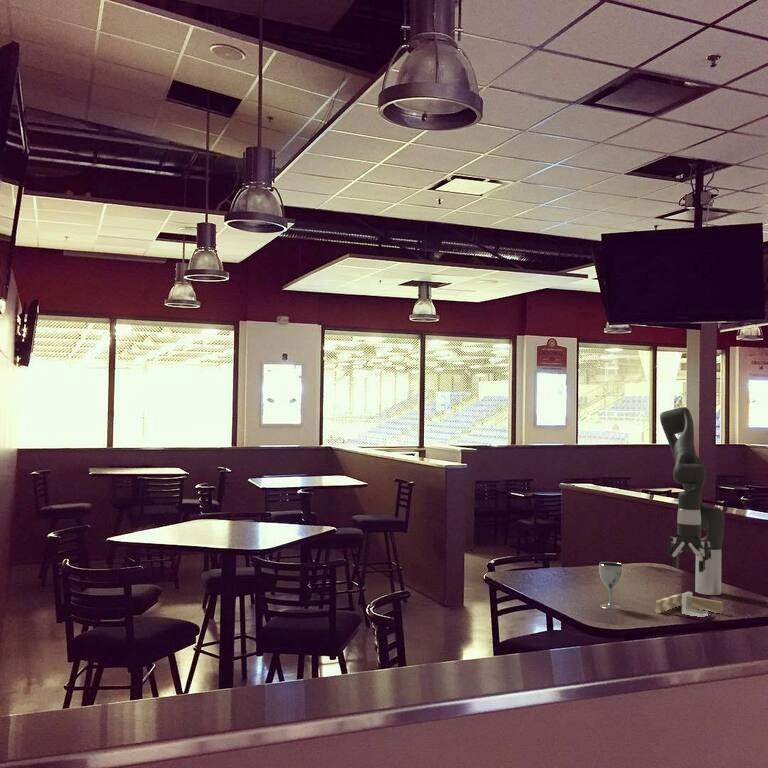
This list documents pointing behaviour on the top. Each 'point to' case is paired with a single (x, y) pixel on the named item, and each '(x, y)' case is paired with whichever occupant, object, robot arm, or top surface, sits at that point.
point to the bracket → (688, 608)
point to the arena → (696, 604)
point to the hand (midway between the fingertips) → (688, 569)
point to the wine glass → (610, 579)
